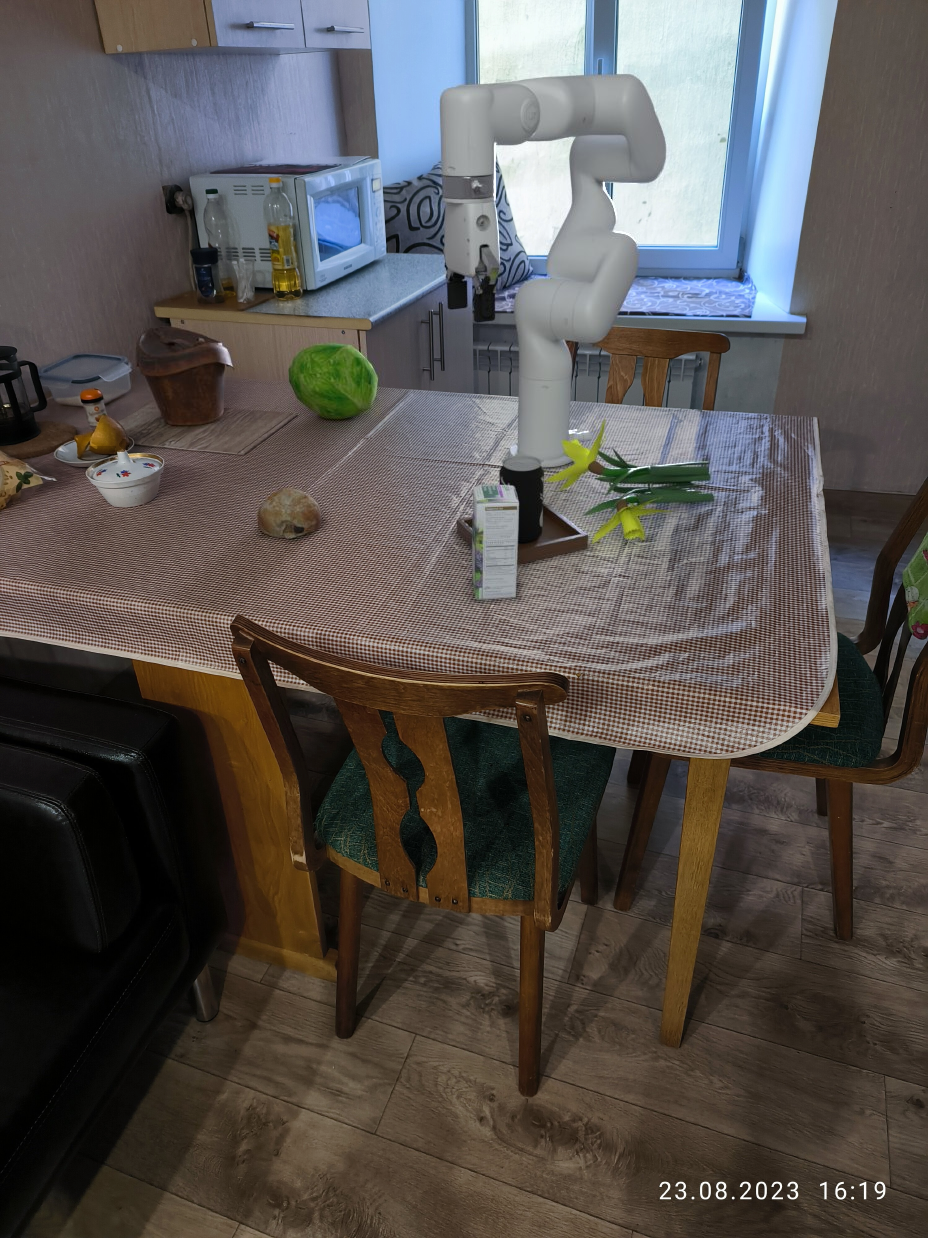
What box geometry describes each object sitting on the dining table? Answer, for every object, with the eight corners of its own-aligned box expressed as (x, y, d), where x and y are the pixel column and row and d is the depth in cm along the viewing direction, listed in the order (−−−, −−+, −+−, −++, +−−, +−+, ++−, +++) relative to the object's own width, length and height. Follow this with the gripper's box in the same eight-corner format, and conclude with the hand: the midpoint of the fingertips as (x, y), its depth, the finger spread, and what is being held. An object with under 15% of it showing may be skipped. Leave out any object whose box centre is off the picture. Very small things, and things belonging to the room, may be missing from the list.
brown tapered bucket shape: (230, 430, 178) (216, 342, 169) (135, 431, 178) (115, 343, 169) (250, 403, 193) (237, 321, 184) (162, 404, 194) (145, 322, 184)
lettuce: (401, 405, 189) (367, 339, 190) (373, 385, 169) (334, 312, 170) (337, 444, 193) (303, 380, 194) (302, 429, 173) (264, 357, 174)
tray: (544, 514, 140) (544, 501, 139) (587, 548, 130) (588, 534, 128) (456, 533, 135) (456, 519, 134) (494, 570, 124) (494, 556, 123)
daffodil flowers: (752, 520, 139) (625, 532, 115) (676, 542, 149) (544, 557, 125) (729, 419, 139) (598, 410, 115) (655, 448, 150) (520, 445, 126)
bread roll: (268, 560, 136) (268, 527, 129) (248, 514, 140) (247, 479, 134) (327, 546, 140) (330, 513, 133) (306, 501, 144) (308, 467, 138)
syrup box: (471, 580, 122) (470, 485, 114) (512, 578, 122) (514, 482, 115) (475, 600, 117) (474, 502, 109) (518, 598, 117) (520, 500, 110)
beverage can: (539, 547, 129) (541, 471, 122) (495, 543, 130) (495, 468, 123) (544, 528, 134) (546, 455, 128) (503, 525, 135) (503, 452, 129)
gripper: (520, 192, 116) (519, 323, 125) (467, 182, 129) (469, 301, 138) (470, 196, 113) (472, 329, 122) (421, 185, 127) (426, 306, 136)
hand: (470, 314), depth 130 cm, fingers open, 9 cm apart
